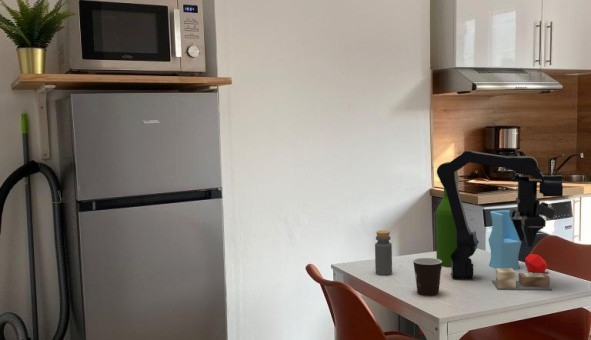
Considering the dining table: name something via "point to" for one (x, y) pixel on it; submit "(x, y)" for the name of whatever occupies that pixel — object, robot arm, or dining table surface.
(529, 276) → the brown block
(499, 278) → the birch cube
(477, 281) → the dining table surface
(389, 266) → the bottle
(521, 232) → the robot arm
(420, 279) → the coffee mug
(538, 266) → the apple
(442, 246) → the wine bottle
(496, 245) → the vase
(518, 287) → the mat
